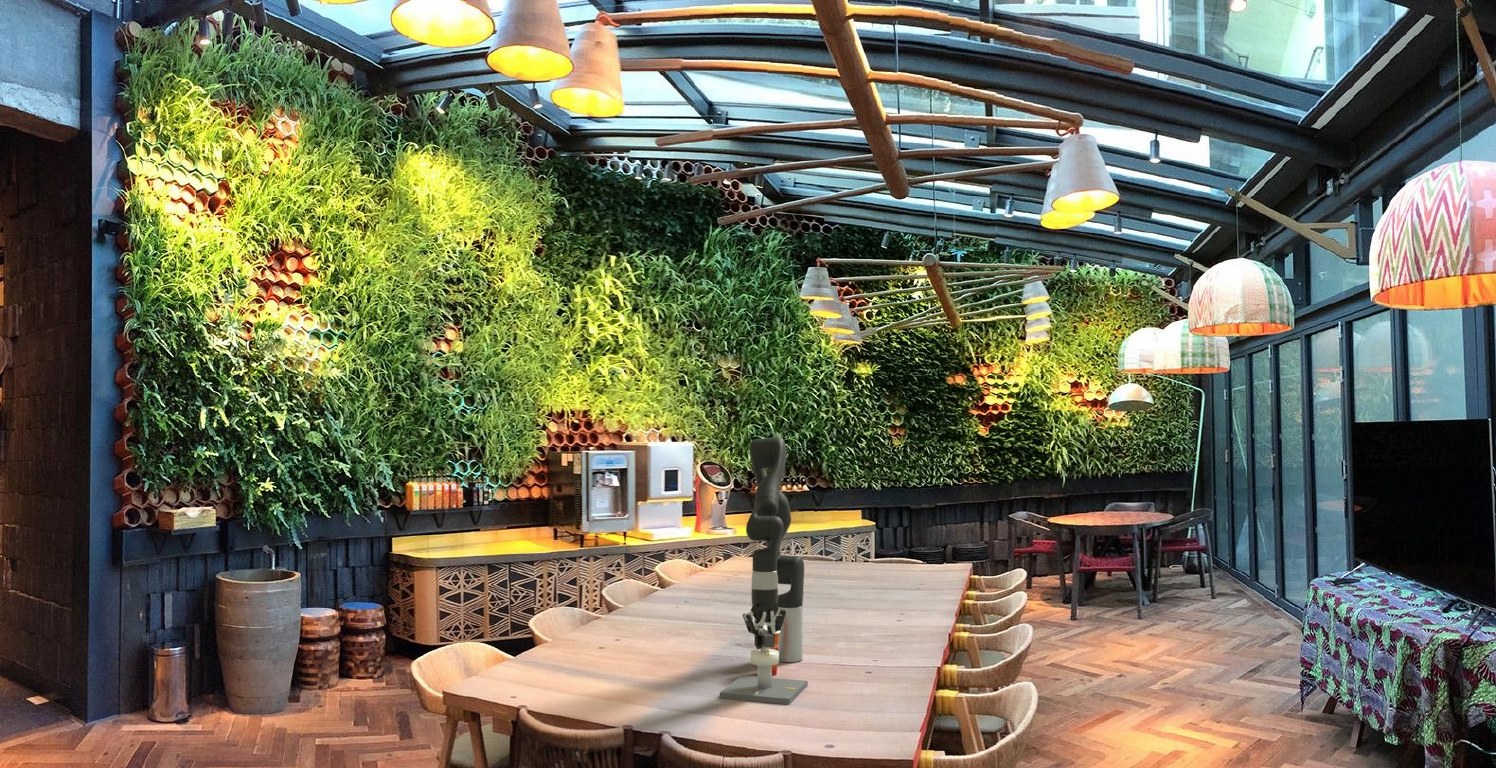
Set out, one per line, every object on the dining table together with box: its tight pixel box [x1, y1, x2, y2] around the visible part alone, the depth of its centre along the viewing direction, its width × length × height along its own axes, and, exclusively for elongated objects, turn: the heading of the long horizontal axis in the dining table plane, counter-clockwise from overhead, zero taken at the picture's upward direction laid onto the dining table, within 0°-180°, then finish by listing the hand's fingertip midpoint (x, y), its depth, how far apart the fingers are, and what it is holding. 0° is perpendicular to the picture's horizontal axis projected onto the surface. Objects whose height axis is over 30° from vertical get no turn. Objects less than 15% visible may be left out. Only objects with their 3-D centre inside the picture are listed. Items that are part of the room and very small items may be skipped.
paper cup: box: [756, 624, 781, 677], centre depth 301 cm, size 8×8×14 cm
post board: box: [719, 666, 809, 705], centre depth 281 cm, size 20×20×8 cm
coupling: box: [750, 628, 780, 667], centre depth 281 cm, size 11×8×8 cm
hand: (764, 647), depth 281 cm, fingers closed on coupling, 3 cm apart
